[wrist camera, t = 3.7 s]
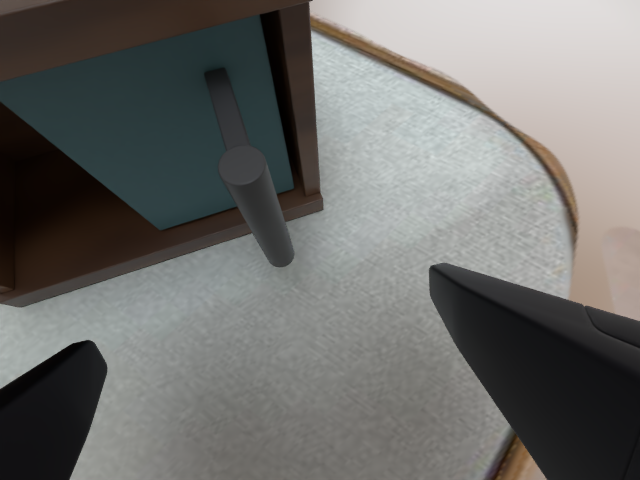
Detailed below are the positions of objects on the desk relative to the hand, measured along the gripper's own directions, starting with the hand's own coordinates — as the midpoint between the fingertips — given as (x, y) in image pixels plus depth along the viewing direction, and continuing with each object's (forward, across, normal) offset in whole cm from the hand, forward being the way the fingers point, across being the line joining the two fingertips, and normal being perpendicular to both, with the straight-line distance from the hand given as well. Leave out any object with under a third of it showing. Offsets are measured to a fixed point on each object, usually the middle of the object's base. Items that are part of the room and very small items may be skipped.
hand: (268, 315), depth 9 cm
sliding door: (+11, +3, +2) cm, 11 cm away
